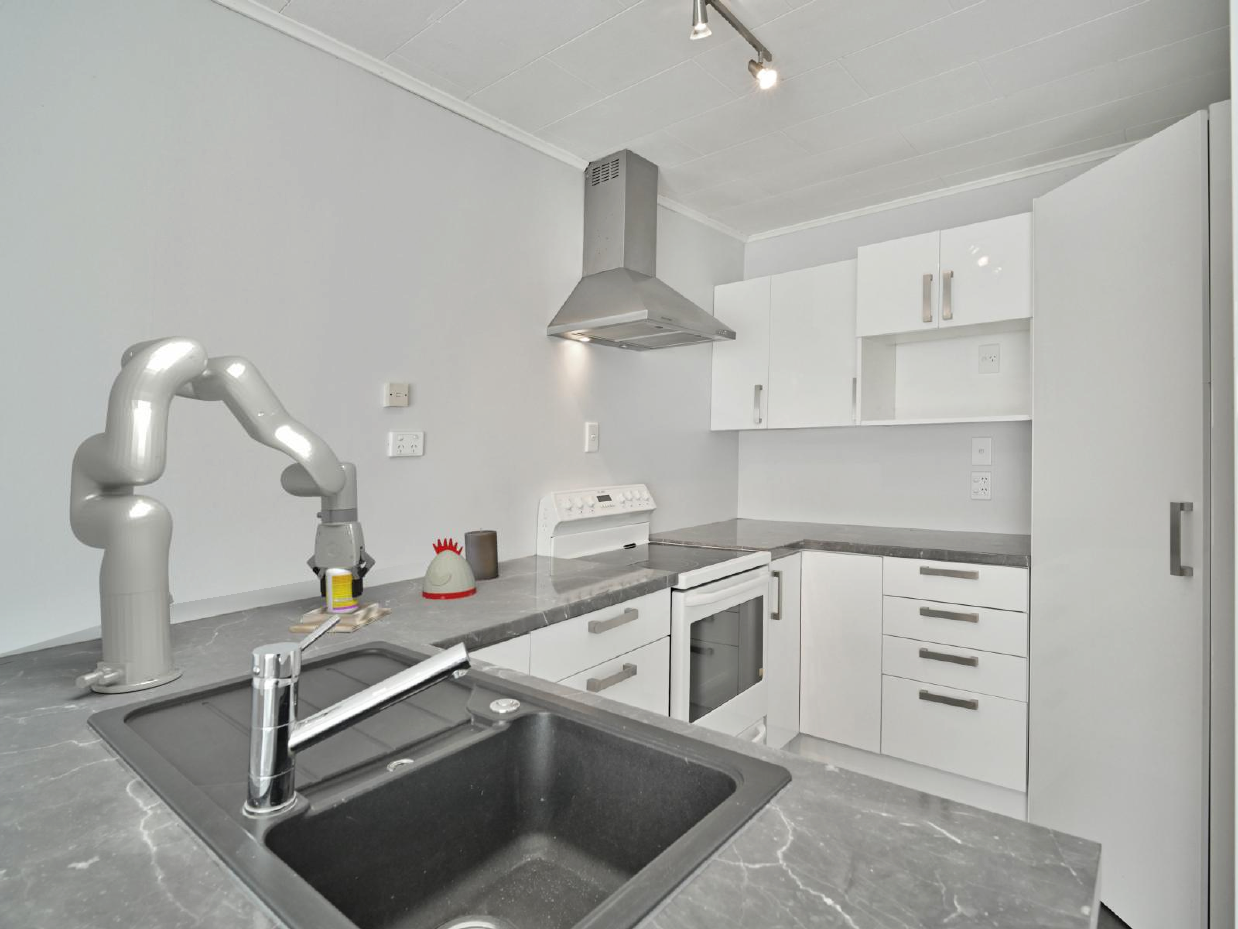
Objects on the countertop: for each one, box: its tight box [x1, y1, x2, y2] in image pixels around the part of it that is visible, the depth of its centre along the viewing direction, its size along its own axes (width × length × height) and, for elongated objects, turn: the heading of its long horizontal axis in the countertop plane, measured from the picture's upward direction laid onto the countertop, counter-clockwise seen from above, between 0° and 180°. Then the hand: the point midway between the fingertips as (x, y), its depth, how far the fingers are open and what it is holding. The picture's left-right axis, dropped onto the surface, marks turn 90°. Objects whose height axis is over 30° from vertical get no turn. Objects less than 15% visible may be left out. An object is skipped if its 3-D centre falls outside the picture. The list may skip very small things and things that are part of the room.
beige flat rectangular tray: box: [289, 602, 392, 634], centre depth 152 cm, size 18×14×3 cm
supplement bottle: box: [325, 568, 359, 614], centre depth 151 cm, size 7×7×13 cm
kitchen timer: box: [421, 537, 477, 601], centre depth 179 cm, size 14×14×15 cm
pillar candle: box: [464, 527, 500, 581], centre depth 202 cm, size 10×10×15 cm
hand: (341, 595), depth 151 cm, fingers closed on supplement bottle, 6 cm apart
